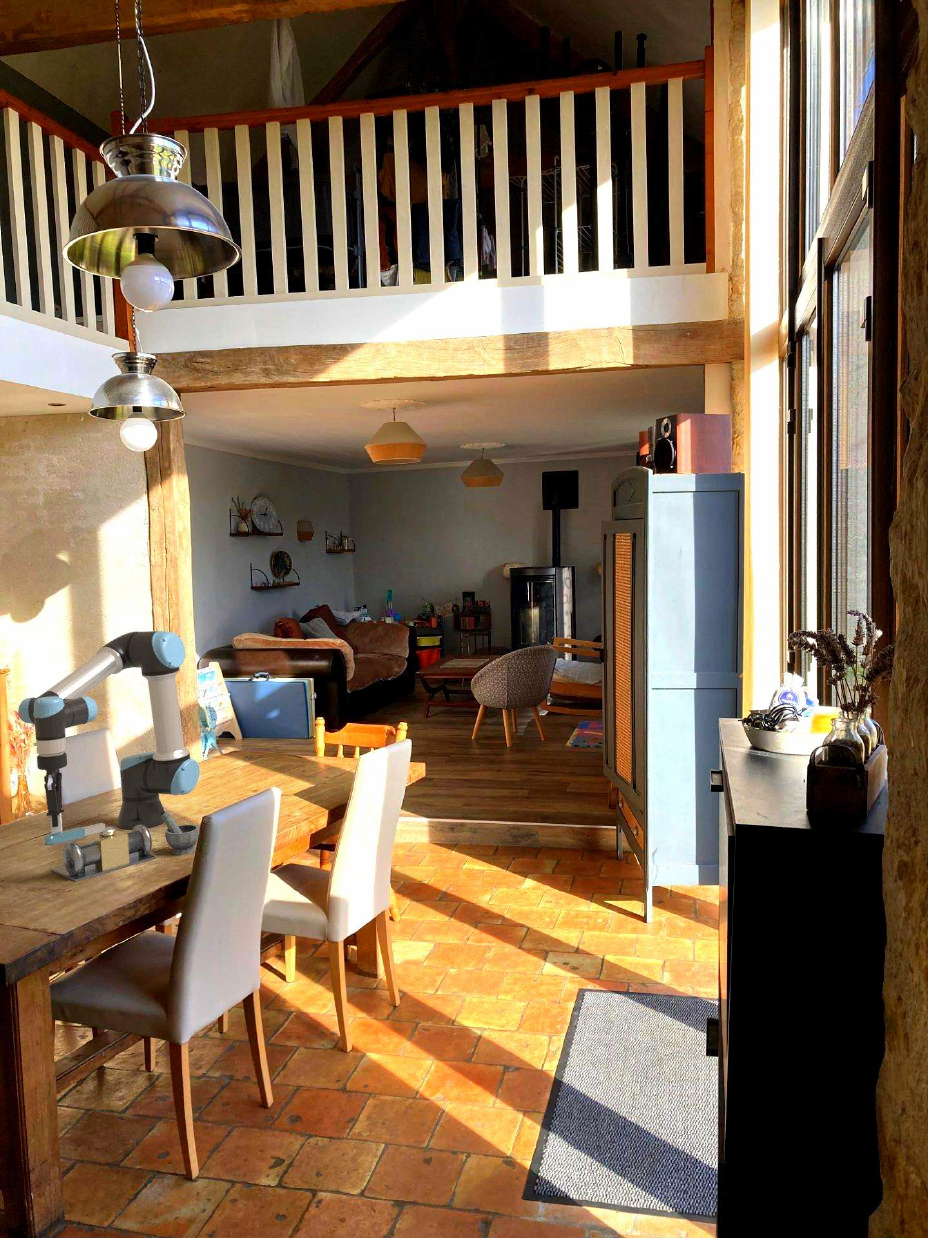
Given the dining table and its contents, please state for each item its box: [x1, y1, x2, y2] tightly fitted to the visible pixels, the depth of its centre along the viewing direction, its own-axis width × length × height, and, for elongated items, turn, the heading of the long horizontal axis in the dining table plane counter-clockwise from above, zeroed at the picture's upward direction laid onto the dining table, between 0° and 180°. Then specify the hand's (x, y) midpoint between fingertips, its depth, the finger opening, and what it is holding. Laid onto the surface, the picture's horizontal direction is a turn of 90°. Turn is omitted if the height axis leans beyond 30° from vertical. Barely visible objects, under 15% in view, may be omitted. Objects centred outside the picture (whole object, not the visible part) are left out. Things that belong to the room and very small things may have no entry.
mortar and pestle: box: [161, 811, 200, 856], centre depth 275 cm, size 11×9×12 cm
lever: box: [44, 822, 116, 846], centre depth 258 cm, size 4×20×4 cm, turn 137°
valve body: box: [50, 824, 157, 882], centre depth 266 cm, size 24×15×10 cm, turn 138°
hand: (56, 837), depth 256 cm, fingers closed
